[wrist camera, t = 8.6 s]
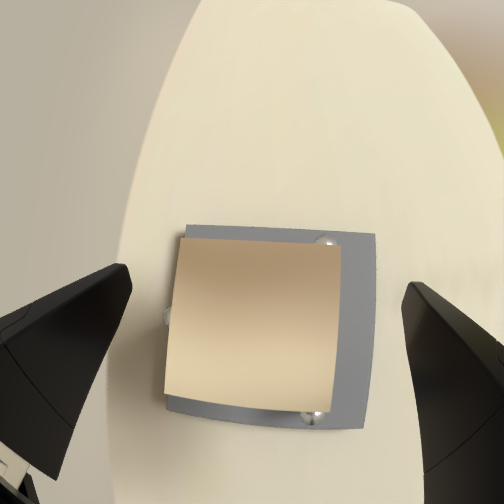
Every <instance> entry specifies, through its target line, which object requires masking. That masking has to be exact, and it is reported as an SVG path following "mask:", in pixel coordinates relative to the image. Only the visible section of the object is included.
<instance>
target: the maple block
mask: <svg viewBox="0 0 504 504" xmlns="http://www.w3.org/2000/svg"><path fill="white" fill-rule="evenodd" d="M340 280H341V245H327V244H308V243H289V242H269V241H248V240H225V239H202V238H181V241H180V248H179V254H178V261H177V268H176V275H175V283H174V291H173V299H172V308H171V317H170V326H169V336H168V347H167V360H166V373H165V389H164V393H165V394H169V395H174V396H179V397H184V398H189V399H194V400H200V401H205V402H212V403H218V404H225V405H232V406H240V407H248V408H257V409H268V410H281V411H298V412H330V408H331V401H332V392H333V384H334V374H335V364H336V353H337V340H338V325H339V307H340Z"/></svg>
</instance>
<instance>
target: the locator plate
mask: <svg viewBox="0 0 504 504" xmlns="http://www.w3.org/2000/svg"><path fill="white" fill-rule="evenodd" d="M184 238H202V239H225V240H248V241H269V242H289V243H308V244H327V245H341V280H340V307H339V325H338V340H337V353H336V364H335V374H334V384H333V392H332V401H331V408H330V412H298V411H281V410H268V409H257V408H248V407H240V406H232V405H225V404H218V403H212V402H205V401H200V400H194V399H189V398H184V397H179V396H174V395H169V394H167V410H169V411H173V412H178V413H182V414H187V415H192V416H197V417H202V418H208V419H214V420H220V421H226V422H233V423H241V424H249V425H258V426H268V427H281V428H298V429H362V428H363V427H364V421H365V415H366V409H367V402H368V394H369V386H370V378H371V368H372V358H373V346H374V331H375V309H376V243H375V234H371V233H356V232H340V231H324V230H306V229H287V228H266V227H242V226H215V225H186V231H185V237H184ZM171 308H172V306H171V307H168V308H167V309H166V310H165V312H164V314H163V320H164V323H165V324H166V326H167V327H169V326H170V317H171Z"/></svg>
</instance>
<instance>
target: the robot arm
mask: <svg viewBox="0 0 504 504" xmlns="http://www.w3.org/2000/svg"><path fill="white" fill-rule="evenodd" d="M131 292H132V282H131V278H130V275H129V271H128V268H127V266H126V265H125V264H119V263H114V264H112V265H110V266H108V267H105V268H103V269H101V270H99V271H97V272H94V273H92V274H90V275H88V276H86V277H84V278H81V279H79V280H77V281H75V282H73V283H71V284H69V285H67V286H65V287H62V288H60V289H58V290H56V291H54V292H52V293H50V294H48V295H46V296H44V297H42V298H40V299H38V300H36V301H34V302H33V303H30V304H28V305H26V306H24V307H22V308H20V309H18V310H16V311H14V312H12V313H9V314H7V315H5V316H3V317H1V318H0V504H40V503H39V500H38V497H37V494H36V491H35V487H34V484H33V480H32V477H31V475H29V474H28V473H27V470H28V468H29V466H30V464H31V465H32V466H34V467H35V468H37V469H38V470H40V471H41V472H43V473H44V474H46V475H47V476H49V477H50V478H52V479H54V480H55V481H56V480H57V478H58V476H59V473H60V469H61V466H62V463H63V460H64V457H65V454H66V451H67V448H68V445H69V443H70V440H71V437H72V434H73V431H74V430H73V429H74V428H75V426H76V423H77V420H78V418H79V415H80V413H81V410H82V408H83V405H84V403H85V400H86V398H87V395H88V393H89V390H90V388H91V385H92V383H93V381H94V379H95V376H96V374H97V372H98V370H99V367H100V365H101V363H102V361H103V358H104V356H105V354H106V352H107V350H108V348H109V346H110V343H111V341H112V339H113V337H114V335H115V333H116V331H117V329H118V326H119V324H120V321H121V318H122V316H123V313H124V310H125V308H126V305H127V303H128V300H129V297H130V295H131ZM401 311H402V318H403V326H404V333H405V342H406V350H407V356H408V361H409V366H410V371H411V376H412V381H413V387H414V393H415V399H416V405H417V412H418V419H419V427H420V436H421V445H422V457H423V472H424V504H504V346H503V345H502V344H501V343H500V342H499V341H497V340H496V339H495V338H494V337H493V336H491V335H490V334H489V333H488V332H487V331H485V330H484V329H483V328H482V327H480V326H479V325H478V324H477V323H475V322H474V321H473V320H472V319H470V318H469V317H468V316H467V315H465V314H464V313H463V312H461V311H460V310H459V309H458V308H456V307H455V306H454V305H452V304H451V303H450V302H448V301H447V300H446V299H444V298H443V297H442V296H440V295H439V294H438V293H436V292H435V291H434V290H432V289H431V288H429V287H428V286H427V285H425V284H424V283H422V282H410V283H409V284H408V286H407V289H406V292H405V295H404V298H403V301H402V306H401Z"/></svg>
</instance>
